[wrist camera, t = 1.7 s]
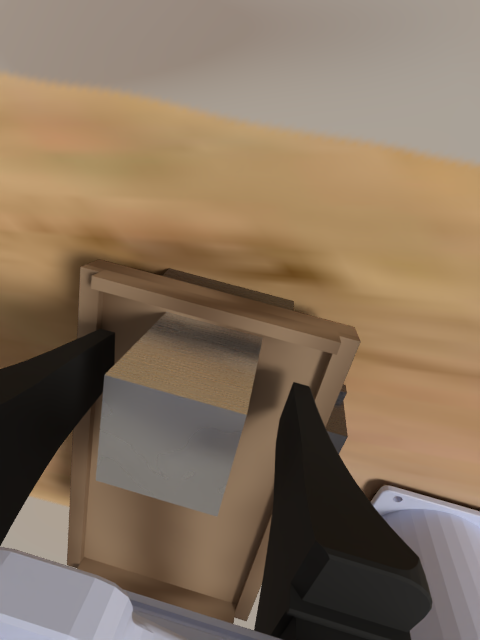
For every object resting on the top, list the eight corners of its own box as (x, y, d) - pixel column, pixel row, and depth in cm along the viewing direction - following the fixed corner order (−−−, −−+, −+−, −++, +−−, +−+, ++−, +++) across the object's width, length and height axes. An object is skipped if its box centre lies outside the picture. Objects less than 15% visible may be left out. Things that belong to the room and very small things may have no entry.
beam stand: (375, 322, 16) (387, 361, 13) (280, 522, 24) (277, 569, 22) (92, 248, 17) (52, 270, 14) (95, 467, 25) (70, 507, 22)
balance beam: (354, 327, 14) (363, 348, 12) (249, 594, 21) (245, 633, 20) (99, 259, 15) (71, 270, 13) (80, 542, 22) (60, 575, 20)
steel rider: (262, 337, 14) (246, 415, 9) (240, 417, 15) (217, 516, 11) (166, 312, 14) (104, 374, 9) (154, 392, 16) (95, 480, 11)
